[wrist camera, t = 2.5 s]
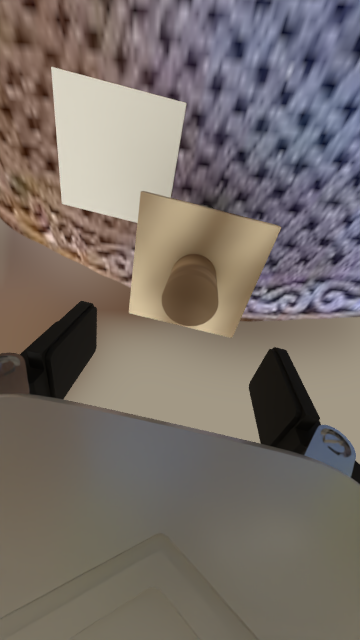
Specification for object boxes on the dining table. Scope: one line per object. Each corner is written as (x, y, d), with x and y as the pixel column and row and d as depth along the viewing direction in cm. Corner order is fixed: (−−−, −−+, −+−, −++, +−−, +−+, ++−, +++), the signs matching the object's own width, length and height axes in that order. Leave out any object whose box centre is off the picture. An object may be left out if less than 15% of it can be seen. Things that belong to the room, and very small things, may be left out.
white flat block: (186, 104, 29) (186, 103, 28) (165, 229, 37) (165, 229, 37) (53, 68, 28) (51, 66, 28) (63, 203, 37) (62, 203, 36)
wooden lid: (277, 225, 17) (306, 242, 12) (231, 332, 23) (237, 373, 18) (143, 191, 17) (116, 194, 12) (131, 308, 23) (110, 343, 18)
